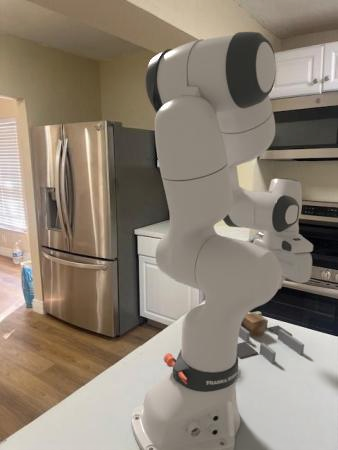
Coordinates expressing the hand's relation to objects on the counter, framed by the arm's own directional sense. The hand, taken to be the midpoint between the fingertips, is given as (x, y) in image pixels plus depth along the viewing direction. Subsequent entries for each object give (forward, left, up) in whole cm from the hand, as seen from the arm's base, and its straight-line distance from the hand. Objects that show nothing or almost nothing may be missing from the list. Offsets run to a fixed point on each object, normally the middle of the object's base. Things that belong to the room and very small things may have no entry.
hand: (275, 287), depth 93 cm
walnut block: (0, +8, -18) cm, 20 cm away
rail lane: (0, +2, -18) cm, 18 cm away
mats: (-1, +3, -18) cm, 18 cm away
